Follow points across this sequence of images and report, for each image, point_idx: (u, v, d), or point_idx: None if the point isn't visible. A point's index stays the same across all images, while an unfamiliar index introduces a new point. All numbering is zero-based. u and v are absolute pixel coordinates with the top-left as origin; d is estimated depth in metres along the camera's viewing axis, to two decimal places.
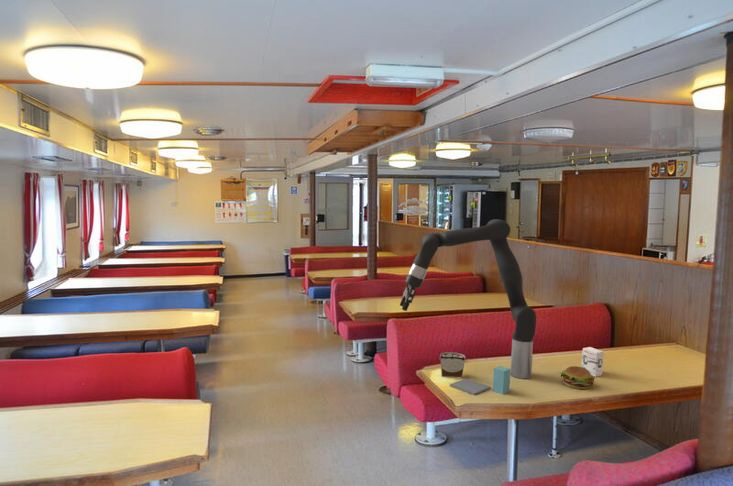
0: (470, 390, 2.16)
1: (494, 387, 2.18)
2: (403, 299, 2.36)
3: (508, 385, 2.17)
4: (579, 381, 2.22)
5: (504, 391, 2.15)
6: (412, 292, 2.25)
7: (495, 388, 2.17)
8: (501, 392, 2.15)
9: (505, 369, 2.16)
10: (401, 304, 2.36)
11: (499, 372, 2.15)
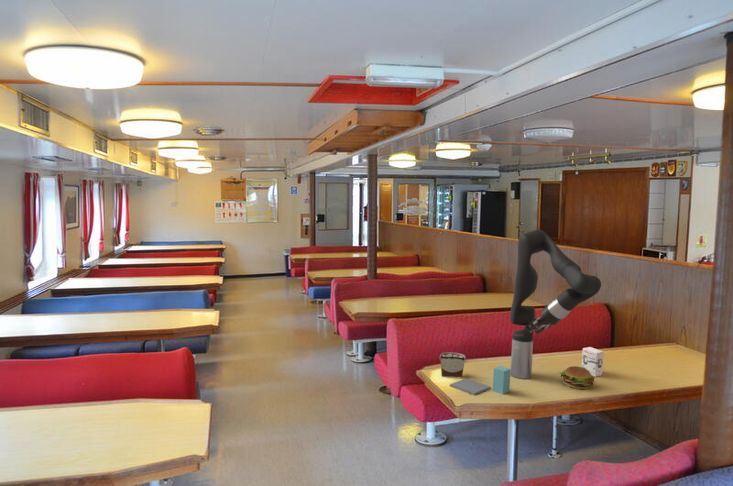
0: (470, 390, 2.16)
1: (494, 387, 2.18)
2: None
3: (508, 385, 2.17)
4: (579, 381, 2.22)
5: (504, 391, 2.15)
6: None
7: (495, 388, 2.17)
8: (501, 392, 2.15)
9: (505, 369, 2.16)
10: None
11: (499, 372, 2.15)
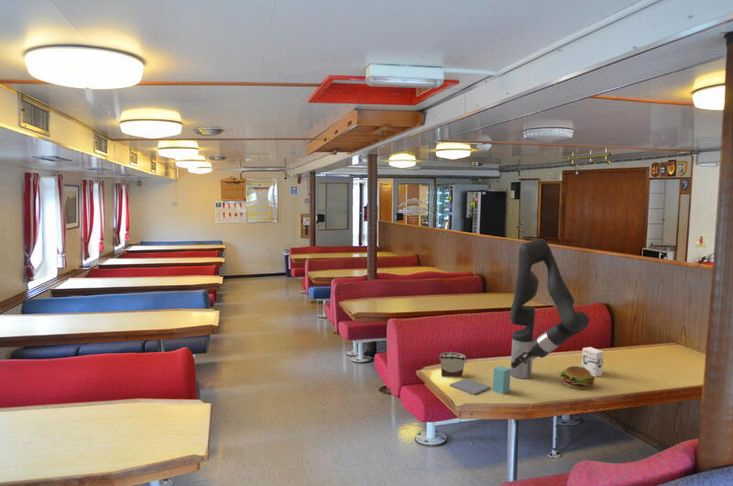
0: (470, 390, 2.16)
1: (494, 387, 2.18)
2: None
3: (508, 385, 2.17)
4: (579, 381, 2.22)
5: (504, 391, 2.15)
6: None
7: (495, 388, 2.17)
8: (501, 392, 2.15)
9: (505, 369, 2.16)
10: None
11: (499, 372, 2.15)
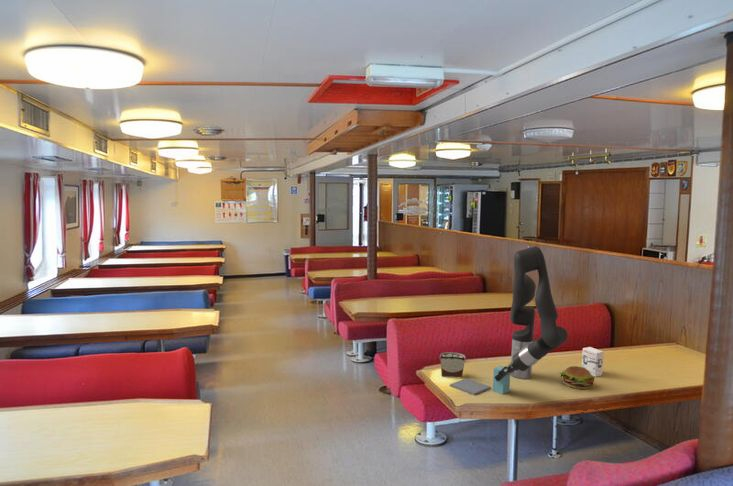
0: (470, 390, 2.16)
1: (494, 387, 2.18)
2: None
3: (508, 385, 2.17)
4: (579, 381, 2.22)
5: (504, 391, 2.15)
6: None
7: (495, 387, 2.17)
8: (501, 392, 2.15)
9: None
10: None
11: None
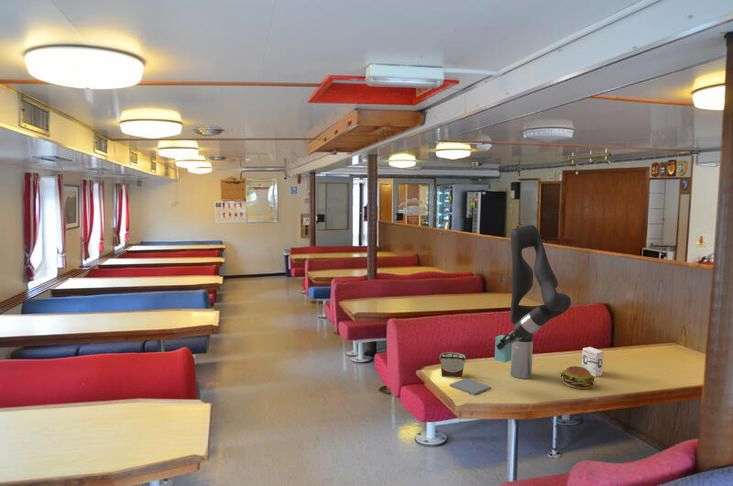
0: (470, 390, 2.16)
1: (496, 356, 2.16)
2: None
3: (510, 353, 2.16)
4: (579, 381, 2.22)
5: (506, 359, 2.14)
6: None
7: (497, 356, 2.16)
8: (503, 360, 2.14)
9: None
10: None
11: None
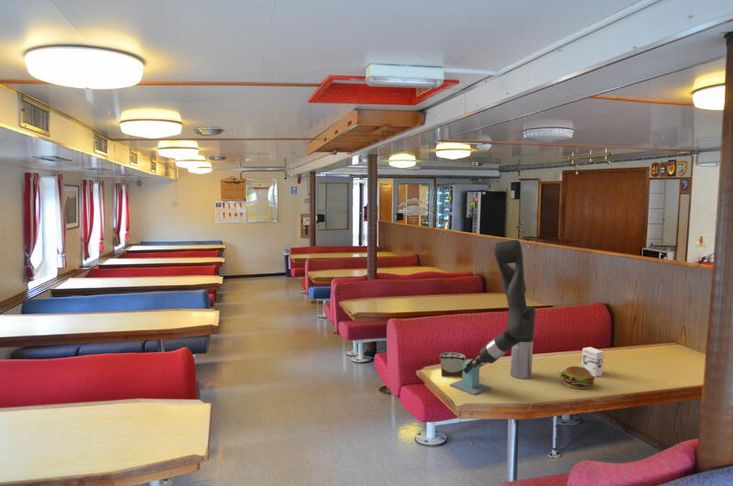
0: (470, 390, 2.16)
1: (464, 381, 2.21)
2: None
3: (477, 379, 2.20)
4: (579, 381, 2.22)
5: (473, 385, 2.19)
6: None
7: (465, 382, 2.20)
8: (470, 386, 2.18)
9: None
10: None
11: None
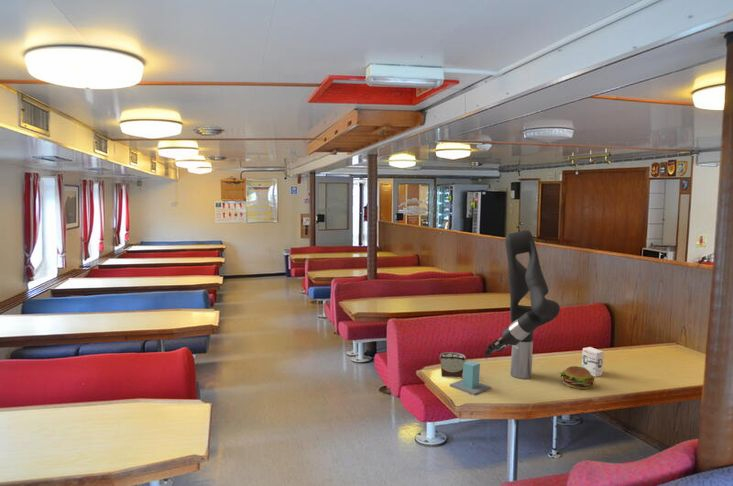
0: (470, 390, 2.16)
1: (464, 382, 2.21)
2: None
3: (477, 379, 2.20)
4: (579, 381, 2.22)
5: (473, 385, 2.19)
6: None
7: (465, 382, 2.20)
8: (470, 386, 2.18)
9: (474, 364, 2.19)
10: None
11: (468, 367, 2.19)
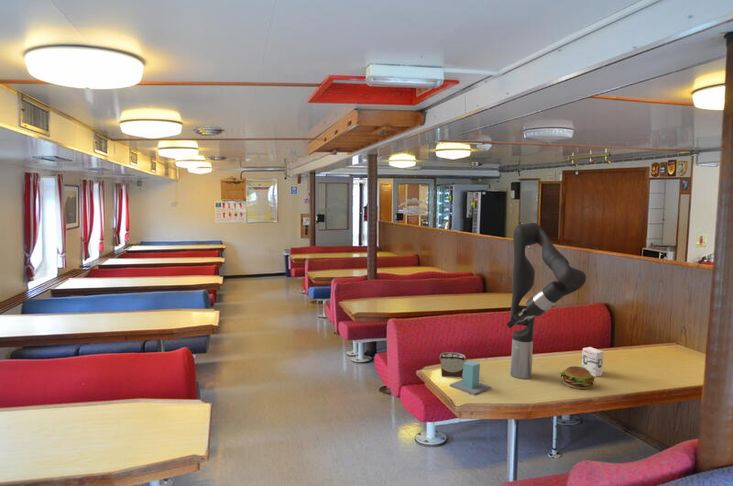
0: (470, 390, 2.16)
1: (464, 382, 2.21)
2: None
3: (477, 379, 2.20)
4: (579, 381, 2.22)
5: (473, 385, 2.19)
6: None
7: (465, 382, 2.20)
8: (470, 386, 2.18)
9: (474, 364, 2.19)
10: None
11: (468, 367, 2.19)
